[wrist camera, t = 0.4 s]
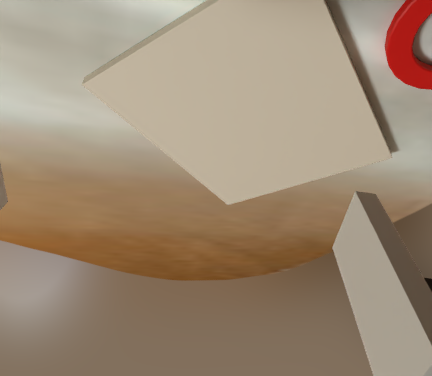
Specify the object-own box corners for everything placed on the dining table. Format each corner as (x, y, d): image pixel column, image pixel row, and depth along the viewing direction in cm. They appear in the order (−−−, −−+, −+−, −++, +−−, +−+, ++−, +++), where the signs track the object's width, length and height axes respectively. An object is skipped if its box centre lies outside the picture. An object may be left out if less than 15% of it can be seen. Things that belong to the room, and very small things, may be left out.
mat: (84, 77, 27) (81, 84, 27) (300, -59, 19) (301, -51, 19) (228, 198, 41) (227, 204, 41) (390, 150, 33) (392, 157, 32)
